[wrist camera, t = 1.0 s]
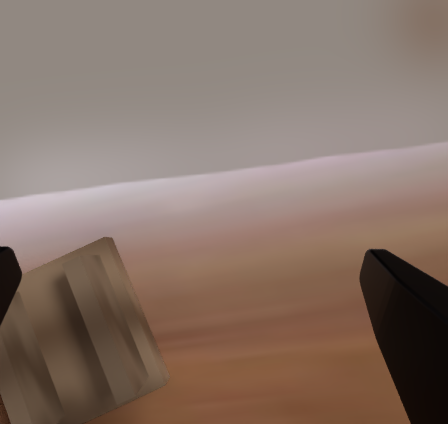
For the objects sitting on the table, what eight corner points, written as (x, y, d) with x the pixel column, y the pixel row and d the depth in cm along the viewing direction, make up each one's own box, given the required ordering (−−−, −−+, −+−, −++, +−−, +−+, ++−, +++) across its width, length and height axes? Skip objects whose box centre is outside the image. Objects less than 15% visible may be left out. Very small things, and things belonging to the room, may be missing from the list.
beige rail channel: (169, 376, 24) (154, 406, 19) (55, 429, 24) (13, 472, 19) (112, 237, 25) (85, 235, 20) (3, 287, 25) (-49, 296, 20)
